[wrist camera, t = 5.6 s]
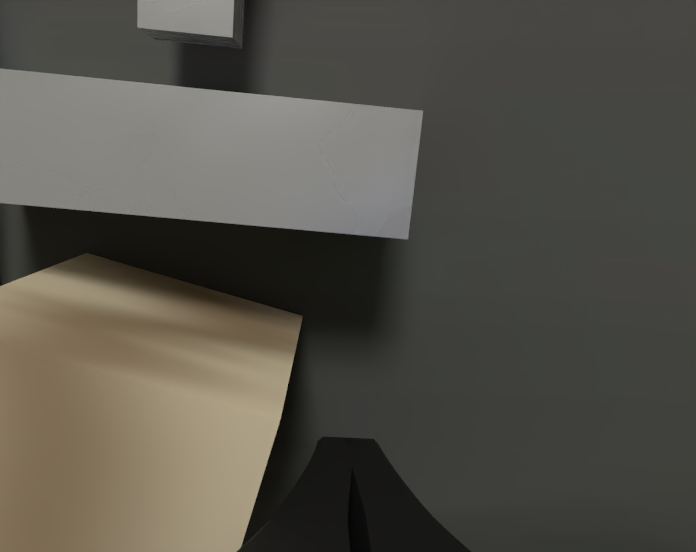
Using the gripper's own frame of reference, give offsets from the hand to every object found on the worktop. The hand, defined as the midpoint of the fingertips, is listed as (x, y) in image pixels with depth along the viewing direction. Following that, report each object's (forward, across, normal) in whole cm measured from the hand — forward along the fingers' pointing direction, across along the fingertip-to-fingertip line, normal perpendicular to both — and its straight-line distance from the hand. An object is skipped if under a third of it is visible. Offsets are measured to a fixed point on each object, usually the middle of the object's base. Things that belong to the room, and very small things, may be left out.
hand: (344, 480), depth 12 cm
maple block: (+2, +4, -1) cm, 5 cm away
